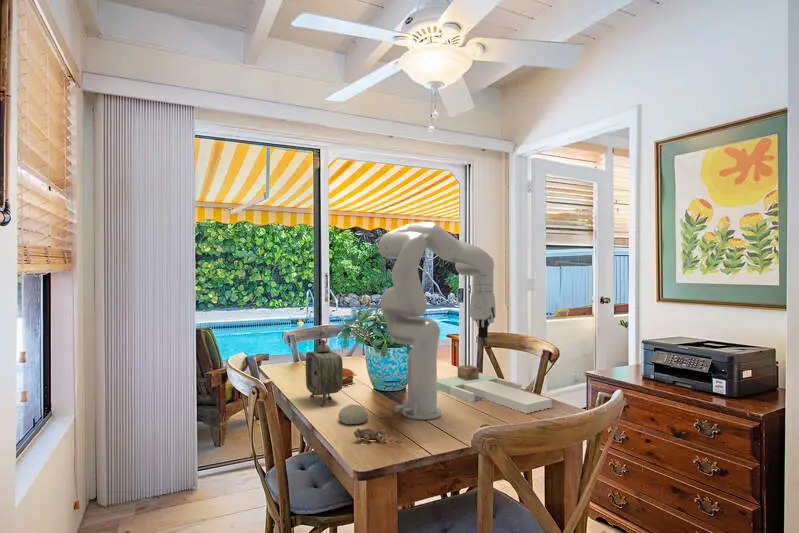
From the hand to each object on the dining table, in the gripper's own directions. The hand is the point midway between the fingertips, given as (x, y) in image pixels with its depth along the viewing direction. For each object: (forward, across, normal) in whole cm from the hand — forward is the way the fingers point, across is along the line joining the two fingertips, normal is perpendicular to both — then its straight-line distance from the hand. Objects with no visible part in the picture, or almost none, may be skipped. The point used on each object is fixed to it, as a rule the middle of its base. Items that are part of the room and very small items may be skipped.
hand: (483, 337), depth 185 cm
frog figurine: (+23, +21, -58) cm, 66 cm away
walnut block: (+18, -12, +3) cm, 22 cm away
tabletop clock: (+22, -22, -55) cm, 63 cm away
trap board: (+21, +5, +1) cm, 22 cm away
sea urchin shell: (+22, +3, -56) cm, 60 cm away
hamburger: (+22, -41, -39) cm, 61 cm away
